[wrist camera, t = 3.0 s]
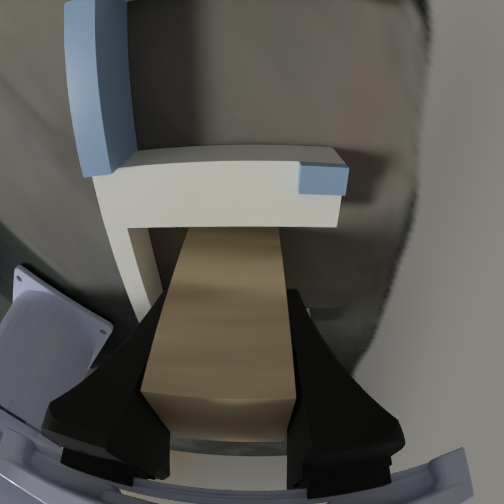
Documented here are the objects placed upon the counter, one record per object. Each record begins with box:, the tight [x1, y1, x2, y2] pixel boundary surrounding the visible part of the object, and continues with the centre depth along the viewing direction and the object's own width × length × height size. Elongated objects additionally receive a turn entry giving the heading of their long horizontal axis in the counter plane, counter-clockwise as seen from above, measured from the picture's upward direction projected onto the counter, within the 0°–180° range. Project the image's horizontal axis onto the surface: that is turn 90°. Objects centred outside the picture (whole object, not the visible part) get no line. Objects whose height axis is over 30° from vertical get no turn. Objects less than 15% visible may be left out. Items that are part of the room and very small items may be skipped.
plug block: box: [141, 227, 296, 442], centre depth 11 cm, size 4×4×8 cm
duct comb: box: [64, 0, 349, 323], centre depth 10 cm, size 18×9×3 cm, turn 0°
